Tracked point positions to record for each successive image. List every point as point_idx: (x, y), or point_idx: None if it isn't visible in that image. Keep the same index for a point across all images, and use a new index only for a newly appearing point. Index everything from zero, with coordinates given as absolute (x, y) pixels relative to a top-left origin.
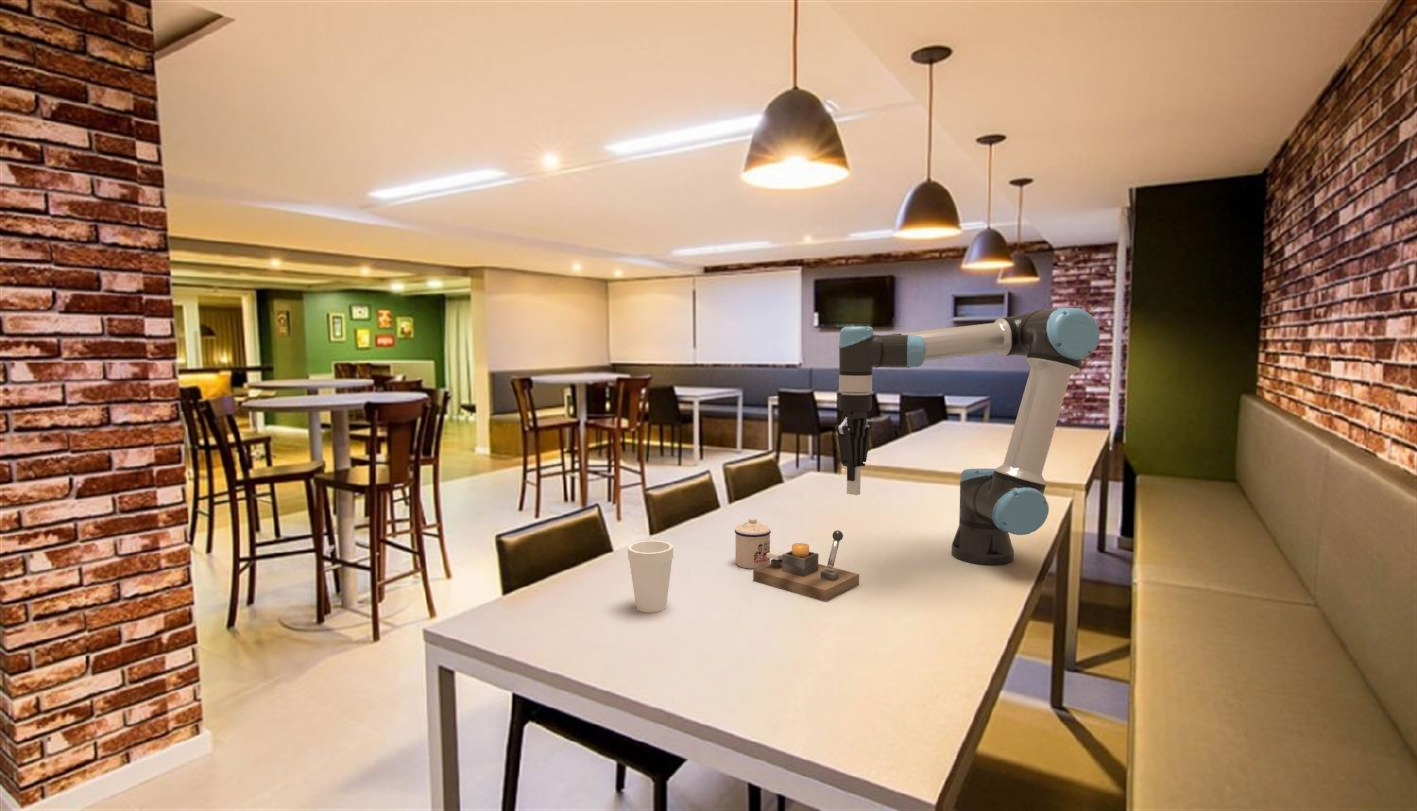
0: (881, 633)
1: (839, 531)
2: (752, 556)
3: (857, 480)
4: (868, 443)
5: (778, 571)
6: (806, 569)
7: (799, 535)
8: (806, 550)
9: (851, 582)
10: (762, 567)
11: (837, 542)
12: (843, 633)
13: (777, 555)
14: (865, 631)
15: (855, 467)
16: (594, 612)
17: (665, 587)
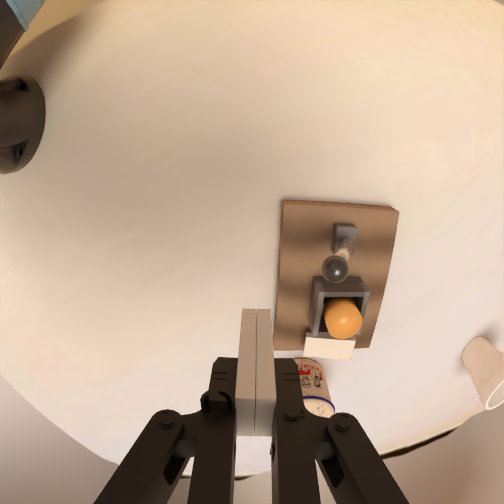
0: (439, 90)
1: (339, 269)
2: (323, 378)
3: (269, 349)
4: (102, 498)
5: None
6: (354, 281)
7: (130, 388)
8: (350, 306)
9: (313, 203)
10: None
11: (343, 257)
12: (464, 135)
13: (354, 341)
14: (446, 111)
15: (291, 403)
16: None
17: (490, 349)
